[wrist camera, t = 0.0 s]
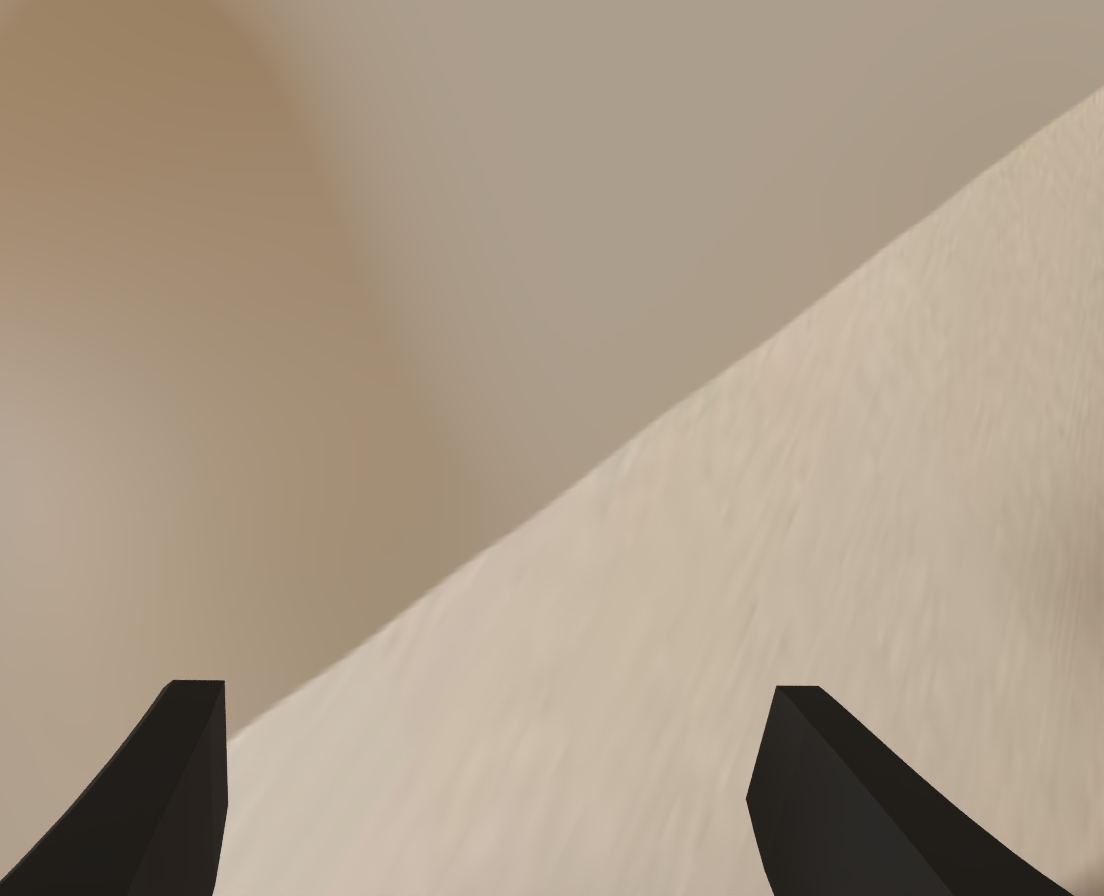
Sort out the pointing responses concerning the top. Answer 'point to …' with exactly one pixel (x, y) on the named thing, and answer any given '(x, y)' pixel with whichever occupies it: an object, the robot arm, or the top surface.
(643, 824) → the top surface
